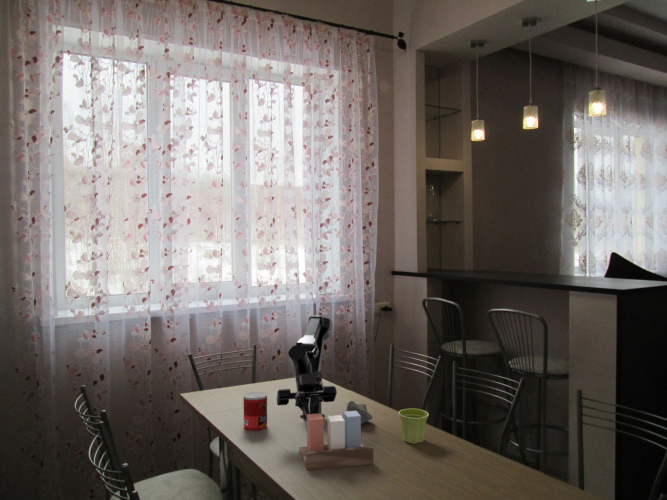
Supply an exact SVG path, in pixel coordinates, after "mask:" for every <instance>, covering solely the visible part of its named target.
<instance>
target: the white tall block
mask: <svg viewBox="0 0 667 500" xmlns="http://www.w3.org/2000/svg"><path fill="white" fill-rule="evenodd" d="M326 420H327V421H326V422H327V424H326V426H327V428H326V429H327V435H326V436H327V441H326V442H327V444H326V445H327V450H332V449H343V448H345V420H344V419H343V416H342V415H341V414H338V415H327V417H326Z"/></svg>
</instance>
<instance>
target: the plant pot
mask: <svg viewBox="0 0 667 500" xmlns="http://www.w3.org/2000/svg"><path fill="white" fill-rule="evenodd" d="M398 415H399V419H400V422H401V429H402V437H403V441H405V442H406V443H408V444H413V445H414V444H418V443H419V444H421V443H423V442H424V439H425V438H424V437H425V431H426V423H427V420H428V417H429V412H428V411H426V410H423V409H420V408H404V409H400V410H399V411H398Z"/></svg>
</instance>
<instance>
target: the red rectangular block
mask: <svg viewBox="0 0 667 500" xmlns="http://www.w3.org/2000/svg"><path fill="white" fill-rule="evenodd" d="M321 414H322V413H321ZM321 414H320V413H318V414H307V419H306V447H307V449H308V451H309V452H310V451H321V450H324V444H325V442H324V441H325V440H324V438H325V437H324V436H325V431H324V430H325V425H324V424H325V422H324V421H325V418H324V417H322V415H321Z"/></svg>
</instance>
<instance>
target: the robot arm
mask: <svg viewBox="0 0 667 500" xmlns="http://www.w3.org/2000/svg"><path fill="white" fill-rule="evenodd" d="M332 330H333V321H332V320H331V318H329V317H324V316H323V315H309V318H308V323H307V327H306V330H305V332H304V334H303V336H302V337H300V338H299V339H298V340H297V341H296V343H295V345H292V347H291V348H289V350H288V354H287V355H288V357H289V360H290V362H291V365H292V367H293V368H294V369H293V370H294V376H295V378H294V379H295V386H296V392H291V389H290V388H279V389H278V390H277V394H276V405H277V406H287V405H288V404H289V403H290V400H294V401H295V402H294V406H295V407H298V408H299V409H300V410H301V411H302V414H301V415H299V417H300V418H303V419H306V420H307V414H318V413H320V414H321V415H322V417H323V418H324V417H326V415H325V414H323V413H322V403H323V402H324V403H333V402H335V400H336V397H337V395H338V392H337V387H336V386H334V385H326V386H324V384H323V383H324V382H323V375H322V371H321V369H322V367H321V366H322V359H323V353H324V346H325V342H326V340H327V339H328V338H329V337H330V336H331V331H332Z"/></svg>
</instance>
